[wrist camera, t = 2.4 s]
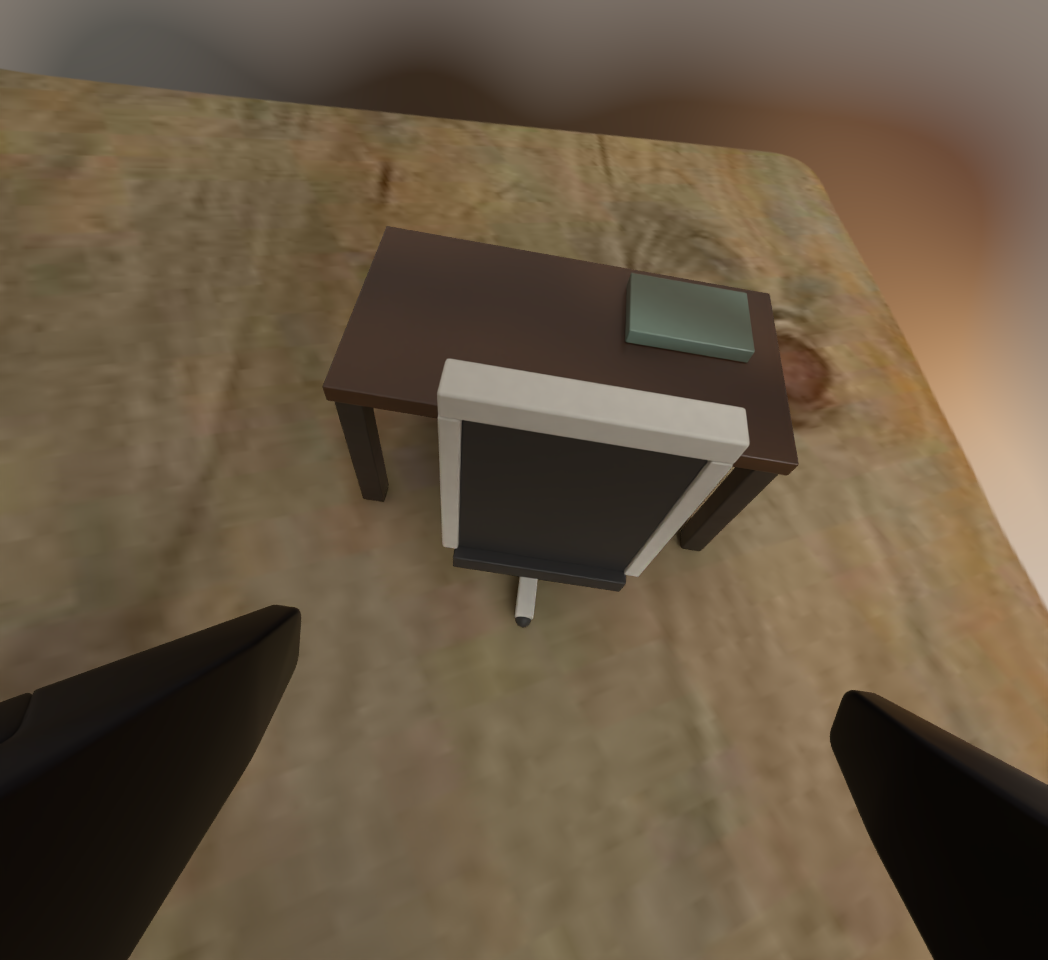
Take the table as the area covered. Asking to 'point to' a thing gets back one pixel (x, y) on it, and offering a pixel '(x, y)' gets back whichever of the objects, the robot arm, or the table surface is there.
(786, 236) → the table surface
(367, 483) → the desk
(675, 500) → the white black boxy frame
